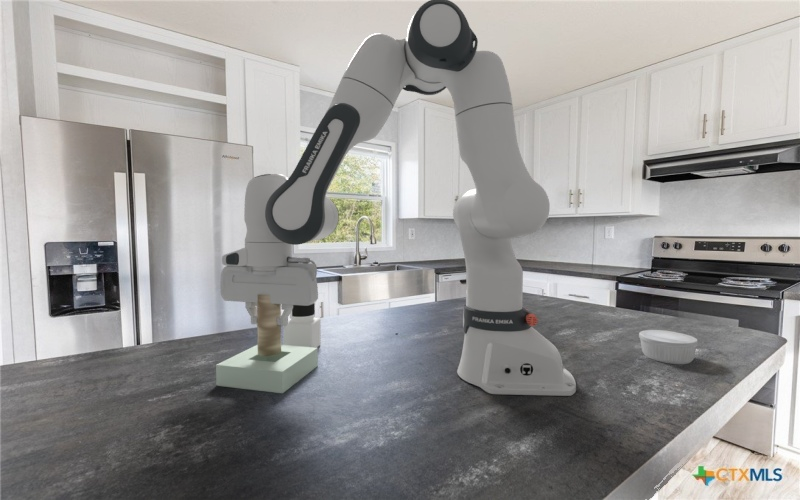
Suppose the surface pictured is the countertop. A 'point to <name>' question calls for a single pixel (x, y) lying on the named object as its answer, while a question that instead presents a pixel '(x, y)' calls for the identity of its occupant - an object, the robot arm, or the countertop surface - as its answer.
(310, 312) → the medicine bottle
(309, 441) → the countertop surface
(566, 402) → the countertop surface
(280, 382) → the socket block
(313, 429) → the countertop surface
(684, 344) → the ramekin
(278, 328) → the maple peg
